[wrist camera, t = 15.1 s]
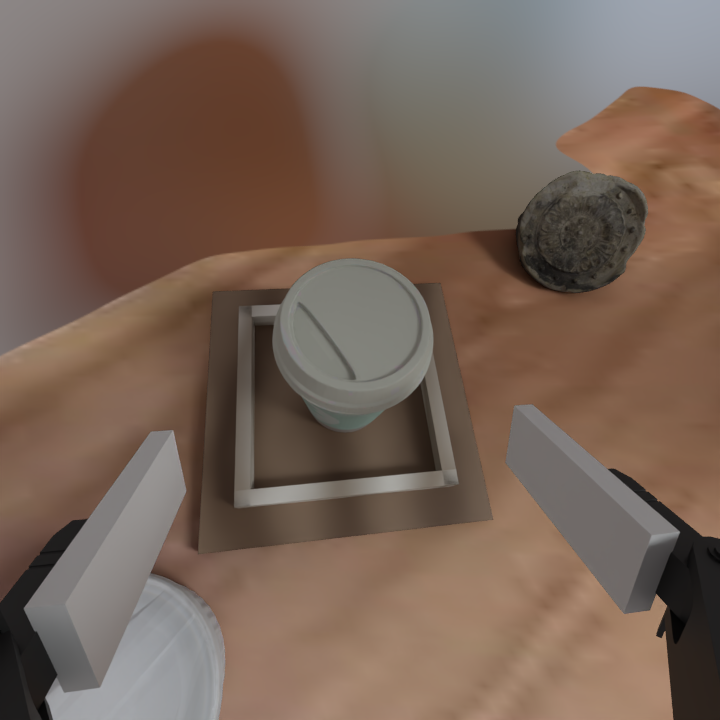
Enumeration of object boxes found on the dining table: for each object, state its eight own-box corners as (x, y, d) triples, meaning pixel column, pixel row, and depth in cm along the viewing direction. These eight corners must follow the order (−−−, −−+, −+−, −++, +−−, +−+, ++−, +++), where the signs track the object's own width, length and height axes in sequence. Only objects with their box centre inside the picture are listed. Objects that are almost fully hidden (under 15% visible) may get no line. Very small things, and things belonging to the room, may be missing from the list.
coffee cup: (289, 347, 31) (270, 248, 20) (393, 345, 32) (430, 249, 21) (288, 454, 27) (263, 406, 16) (404, 449, 28) (455, 400, 17)
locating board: (437, 289, 36) (445, 273, 33) (487, 519, 28) (502, 519, 25) (215, 298, 33) (208, 281, 31) (202, 553, 25) (190, 555, 23)
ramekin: (108, 542, 25) (58, 546, 20) (268, 594, 25) (255, 610, 20) (-4, 762, 21) (-104, 834, 16) (189, 830, 20) (148, 925, 15)
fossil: (515, 297, 35) (554, 181, 29) (486, 257, 43) (512, 157, 36) (627, 299, 36) (689, 186, 30) (580, 259, 43) (621, 162, 37)
